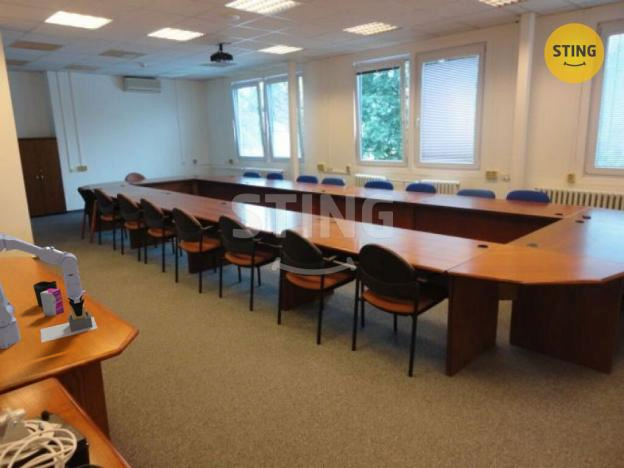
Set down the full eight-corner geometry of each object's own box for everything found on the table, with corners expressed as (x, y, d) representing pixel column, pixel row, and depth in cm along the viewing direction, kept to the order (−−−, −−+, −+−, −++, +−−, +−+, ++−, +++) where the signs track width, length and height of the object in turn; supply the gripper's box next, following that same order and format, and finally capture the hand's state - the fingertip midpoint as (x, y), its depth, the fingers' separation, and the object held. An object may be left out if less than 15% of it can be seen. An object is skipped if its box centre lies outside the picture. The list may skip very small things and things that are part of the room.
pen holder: (55, 297, 219) (51, 278, 217) (63, 301, 213) (59, 282, 211) (34, 304, 212) (30, 284, 210) (42, 308, 206) (37, 288, 204)
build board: (41, 344, 171) (41, 342, 171) (41, 331, 182) (40, 329, 182) (97, 330, 181) (97, 328, 181) (93, 318, 193) (93, 316, 192)
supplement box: (55, 317, 196) (50, 293, 193) (44, 316, 197) (39, 293, 194) (65, 311, 201) (60, 288, 198) (54, 311, 202) (49, 288, 200)
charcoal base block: (71, 332, 179) (69, 322, 177) (69, 324, 185) (67, 315, 184) (92, 326, 183) (90, 317, 182) (90, 319, 189) (88, 310, 188)
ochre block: (72, 320, 180) (70, 309, 178) (71, 316, 184) (69, 305, 182) (86, 317, 182) (84, 306, 181) (85, 313, 186) (83, 302, 185)
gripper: (85, 285, 175) (91, 317, 179) (81, 276, 187) (87, 305, 190) (65, 289, 172) (71, 321, 175) (63, 279, 183) (69, 309, 187)
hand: (78, 313), depth 182 cm, fingers closed on ochre block, 5 cm apart
